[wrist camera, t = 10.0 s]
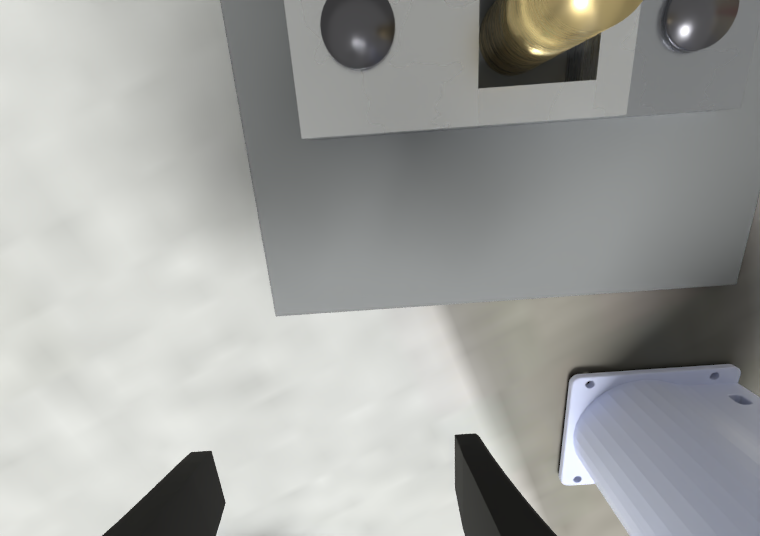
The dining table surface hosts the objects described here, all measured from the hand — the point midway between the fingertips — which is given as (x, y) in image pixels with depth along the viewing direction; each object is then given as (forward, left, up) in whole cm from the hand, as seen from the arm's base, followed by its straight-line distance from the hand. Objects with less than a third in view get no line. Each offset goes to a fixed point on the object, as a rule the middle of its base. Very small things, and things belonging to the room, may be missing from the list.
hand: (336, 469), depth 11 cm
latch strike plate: (-8, -13, -9) cm, 18 cm away
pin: (-8, -13, -9) cm, 18 cm away
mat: (-8, -10, -9) cm, 16 cm away
